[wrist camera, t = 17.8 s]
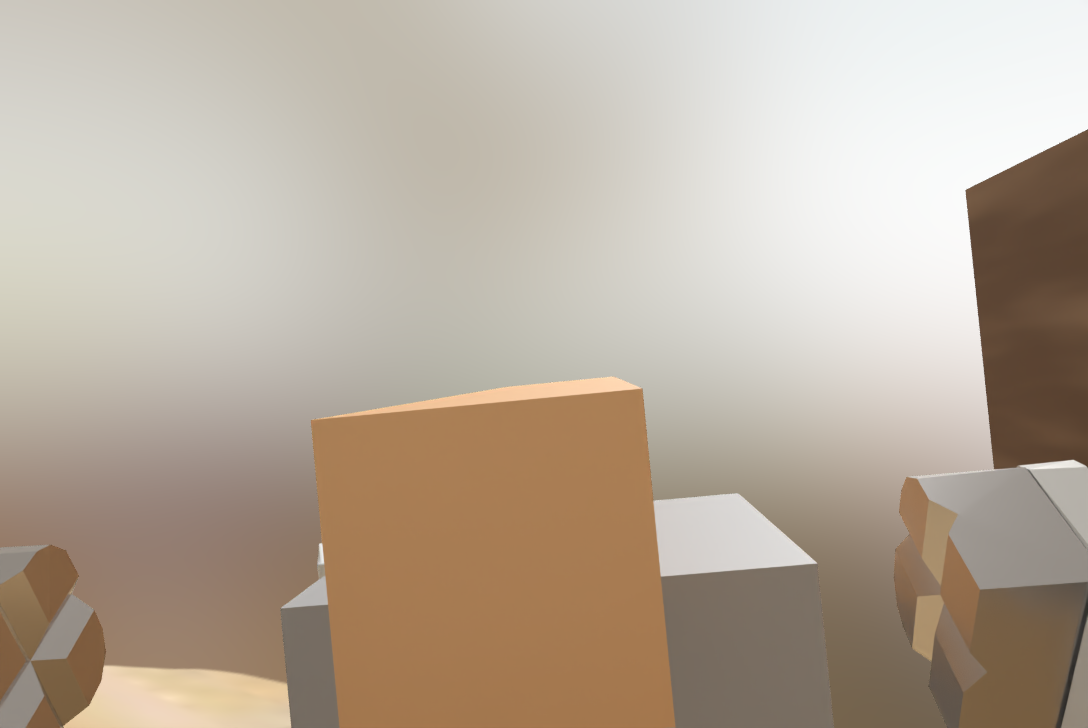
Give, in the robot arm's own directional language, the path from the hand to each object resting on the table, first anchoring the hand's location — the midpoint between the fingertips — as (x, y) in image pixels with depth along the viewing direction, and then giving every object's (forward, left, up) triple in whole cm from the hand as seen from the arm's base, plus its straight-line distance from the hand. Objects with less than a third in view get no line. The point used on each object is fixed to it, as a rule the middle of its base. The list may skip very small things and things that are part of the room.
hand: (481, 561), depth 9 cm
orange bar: (0, +14, -3) cm, 14 cm away
